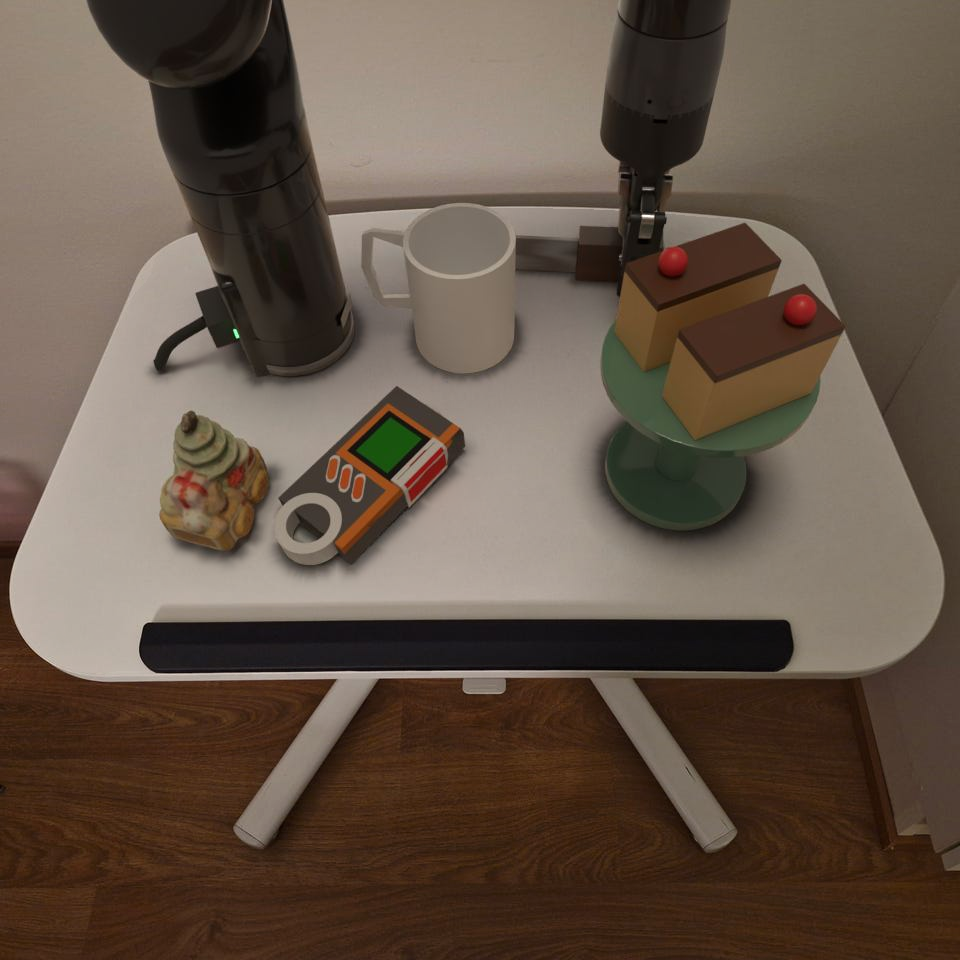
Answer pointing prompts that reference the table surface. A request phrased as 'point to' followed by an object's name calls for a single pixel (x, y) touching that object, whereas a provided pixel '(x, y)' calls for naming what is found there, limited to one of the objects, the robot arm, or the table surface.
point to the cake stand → (680, 447)
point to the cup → (455, 284)
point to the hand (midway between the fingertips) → (629, 264)
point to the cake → (723, 329)
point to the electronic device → (367, 479)
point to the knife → (574, 253)
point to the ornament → (211, 485)
